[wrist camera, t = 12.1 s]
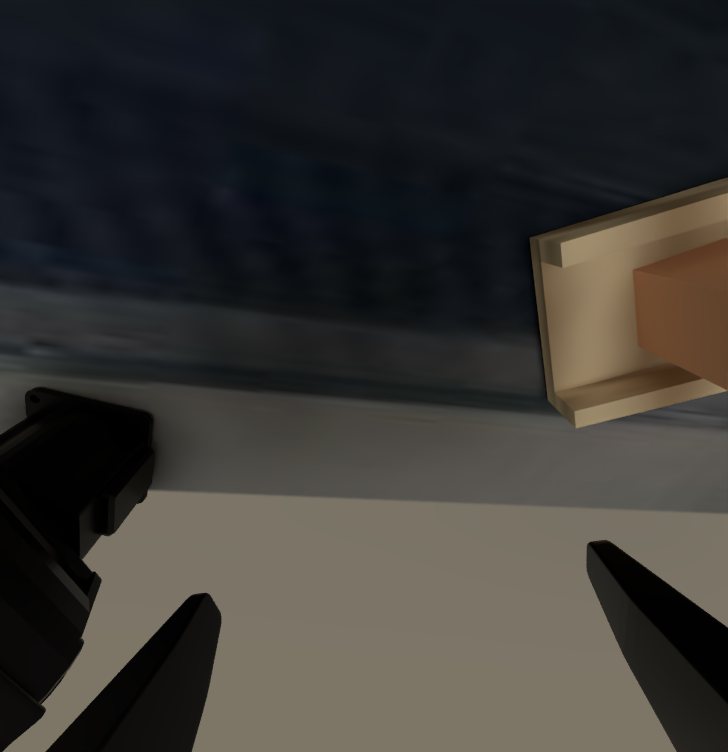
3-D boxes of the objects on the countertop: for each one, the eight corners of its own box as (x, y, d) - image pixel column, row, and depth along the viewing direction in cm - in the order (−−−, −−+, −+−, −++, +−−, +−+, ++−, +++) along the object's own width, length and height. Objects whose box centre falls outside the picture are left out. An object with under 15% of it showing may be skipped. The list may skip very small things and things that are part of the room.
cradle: (547, 400, 21) (593, 445, 17) (529, 237, 18) (580, 246, 14) (736, 351, 20) (832, 387, 16) (755, 168, 17) (885, 155, 13)
